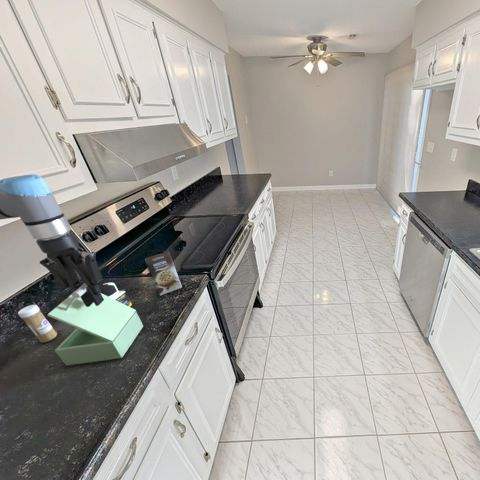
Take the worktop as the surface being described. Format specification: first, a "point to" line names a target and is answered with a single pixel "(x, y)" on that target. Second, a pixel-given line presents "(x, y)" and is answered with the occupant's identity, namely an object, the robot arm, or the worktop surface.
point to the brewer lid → (93, 315)
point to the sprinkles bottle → (37, 323)
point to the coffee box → (163, 273)
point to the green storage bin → (98, 344)
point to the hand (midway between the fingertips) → (95, 303)
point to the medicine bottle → (115, 293)
